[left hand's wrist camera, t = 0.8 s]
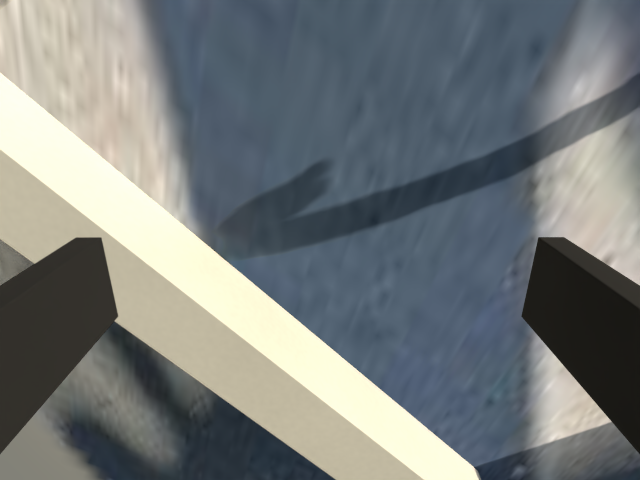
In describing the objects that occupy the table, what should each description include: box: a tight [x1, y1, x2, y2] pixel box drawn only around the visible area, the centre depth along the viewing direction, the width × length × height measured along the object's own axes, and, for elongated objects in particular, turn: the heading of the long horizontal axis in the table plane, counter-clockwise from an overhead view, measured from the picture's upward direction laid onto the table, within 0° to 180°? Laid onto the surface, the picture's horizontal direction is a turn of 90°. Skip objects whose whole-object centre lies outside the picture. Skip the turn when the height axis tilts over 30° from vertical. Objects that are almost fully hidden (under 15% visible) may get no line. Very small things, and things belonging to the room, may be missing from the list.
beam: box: [0, 73, 481, 480], centre depth 36 cm, size 82×6×8 cm, turn 45°
